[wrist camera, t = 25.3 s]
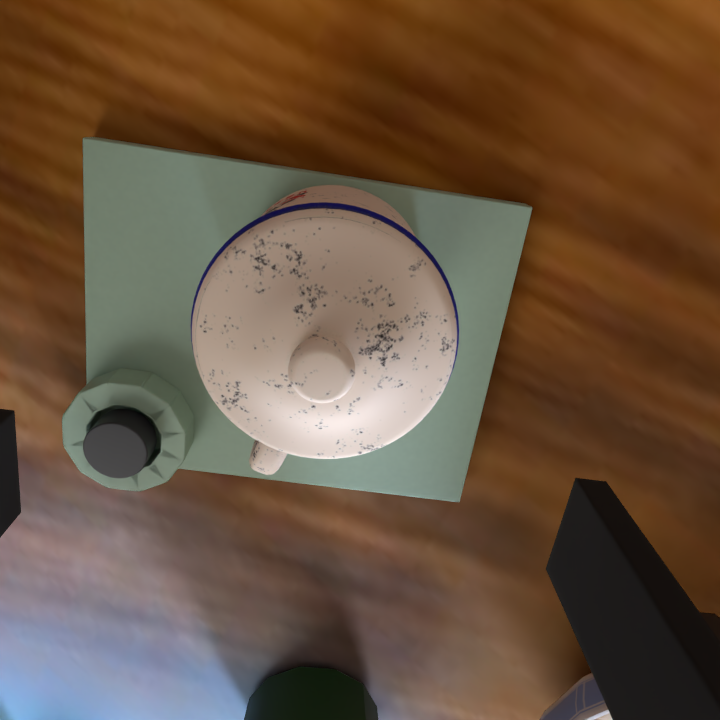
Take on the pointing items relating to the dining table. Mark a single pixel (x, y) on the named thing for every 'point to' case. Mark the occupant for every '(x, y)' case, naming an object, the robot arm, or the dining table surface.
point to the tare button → (120, 443)
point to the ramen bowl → (579, 703)
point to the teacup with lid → (324, 327)
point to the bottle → (311, 697)
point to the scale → (179, 285)
